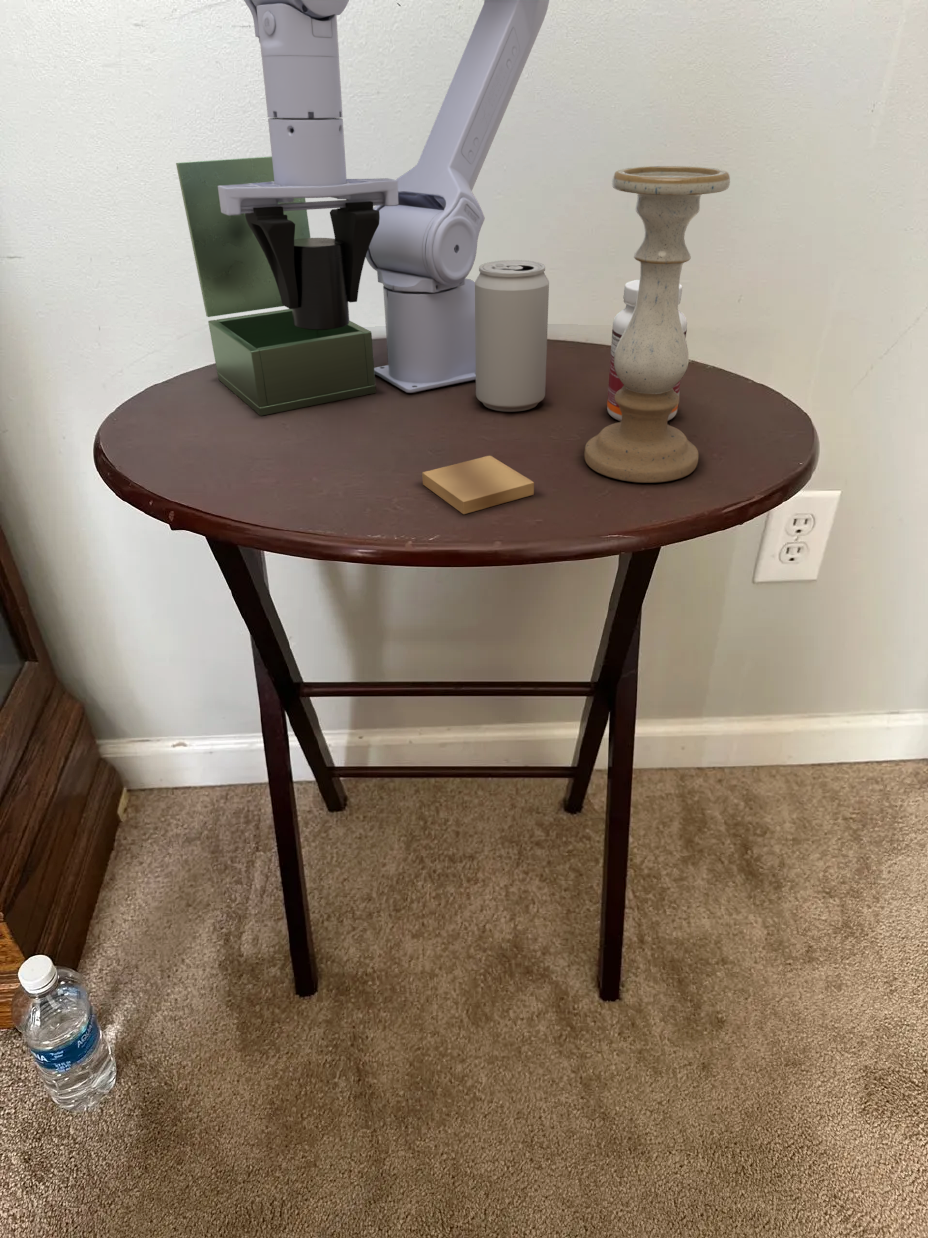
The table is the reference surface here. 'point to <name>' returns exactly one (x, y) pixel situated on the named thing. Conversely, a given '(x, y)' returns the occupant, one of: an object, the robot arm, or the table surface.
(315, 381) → the green hinged box
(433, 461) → the table surface
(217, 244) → the green box lid
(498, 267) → the beverage can
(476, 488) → the plate
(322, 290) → the cylinder
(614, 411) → the pill bottle
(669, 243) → the candle holder
